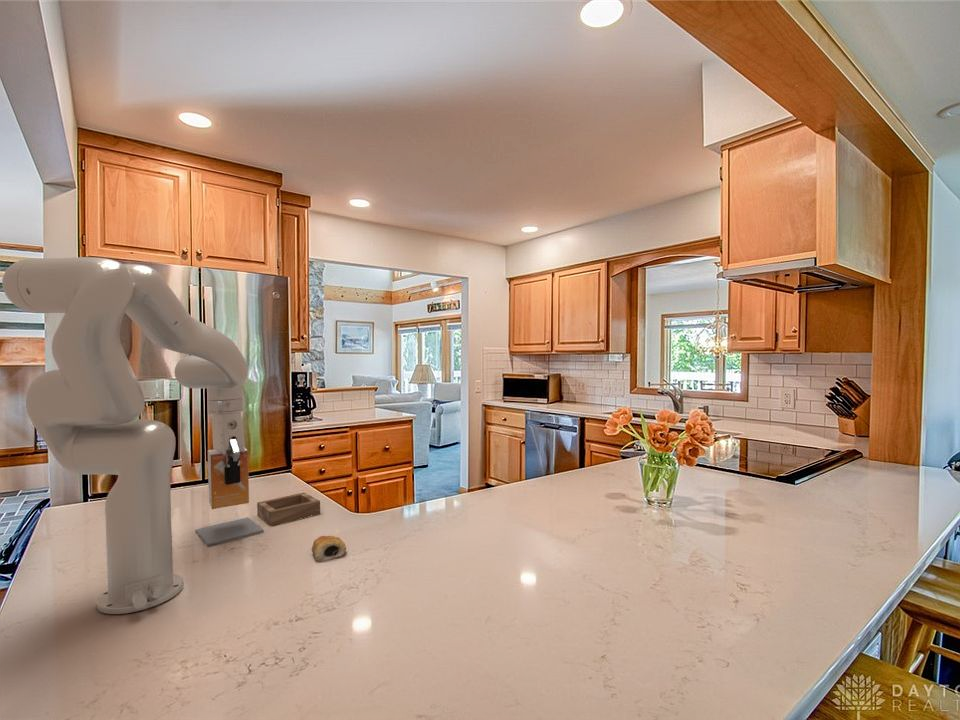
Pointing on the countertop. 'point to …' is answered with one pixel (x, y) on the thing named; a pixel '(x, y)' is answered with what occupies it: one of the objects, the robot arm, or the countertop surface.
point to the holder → (288, 508)
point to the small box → (218, 489)
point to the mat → (228, 531)
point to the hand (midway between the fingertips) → (228, 479)
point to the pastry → (328, 548)
